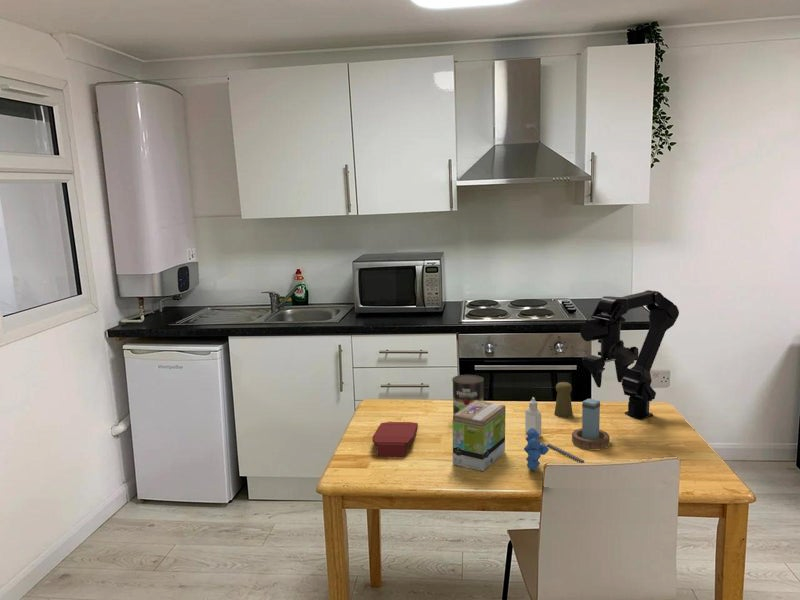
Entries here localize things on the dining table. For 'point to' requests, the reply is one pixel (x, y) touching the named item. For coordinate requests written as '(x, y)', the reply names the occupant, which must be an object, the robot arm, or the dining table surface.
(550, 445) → the thin gray square rod
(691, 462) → the dining table surface
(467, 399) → the coffee can
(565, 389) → the cork
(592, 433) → the blue-gray square peg
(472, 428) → the tea box
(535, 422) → the eye dropper bottle
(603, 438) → the bead ring
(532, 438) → the grapes
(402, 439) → the red lunch box
